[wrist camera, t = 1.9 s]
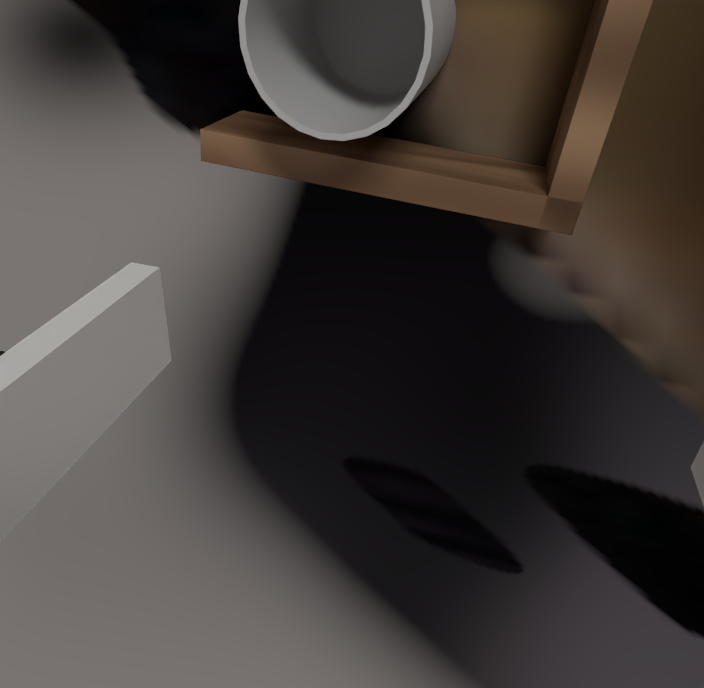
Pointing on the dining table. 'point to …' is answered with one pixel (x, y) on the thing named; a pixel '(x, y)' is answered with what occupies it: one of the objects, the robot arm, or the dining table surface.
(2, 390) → the robot arm
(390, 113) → the cup
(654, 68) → the dining table surface
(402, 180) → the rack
